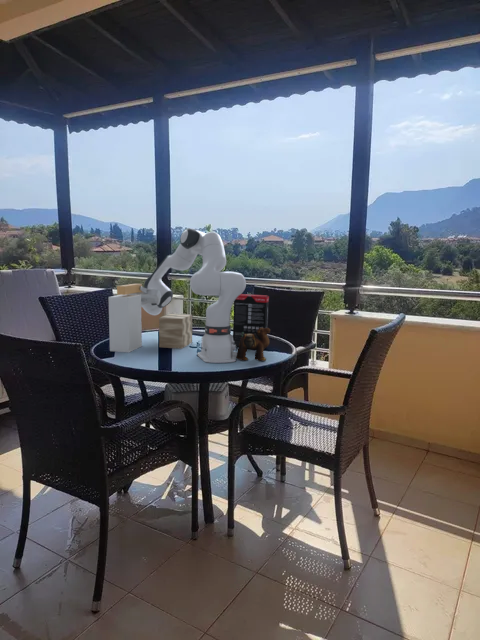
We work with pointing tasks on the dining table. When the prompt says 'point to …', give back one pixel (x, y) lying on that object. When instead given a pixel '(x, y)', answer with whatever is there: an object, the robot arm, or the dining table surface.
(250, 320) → the graphics card box
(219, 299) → the robot arm
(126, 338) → the stand
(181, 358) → the dining table surface
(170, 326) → the pedestal
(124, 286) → the bar
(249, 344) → the figurine
